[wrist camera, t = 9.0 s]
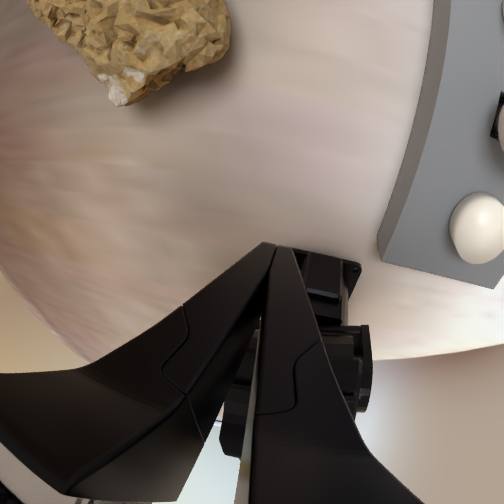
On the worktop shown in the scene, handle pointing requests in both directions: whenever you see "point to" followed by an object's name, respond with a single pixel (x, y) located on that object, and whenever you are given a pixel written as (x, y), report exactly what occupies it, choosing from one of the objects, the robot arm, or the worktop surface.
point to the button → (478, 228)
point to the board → (450, 143)
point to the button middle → (500, 124)
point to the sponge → (139, 39)
